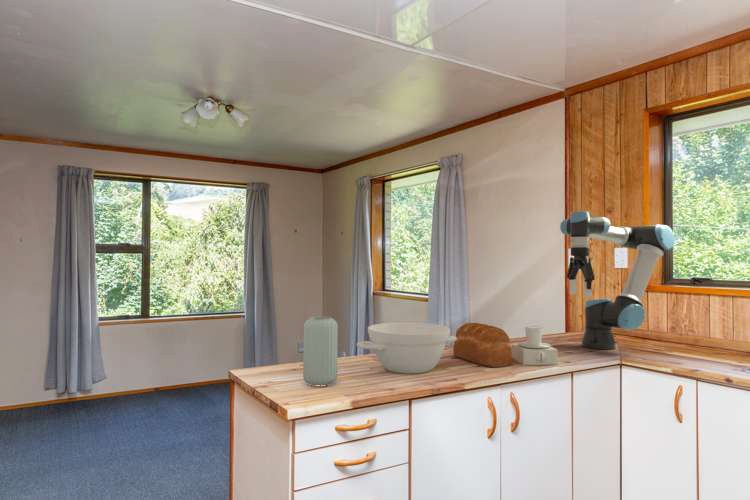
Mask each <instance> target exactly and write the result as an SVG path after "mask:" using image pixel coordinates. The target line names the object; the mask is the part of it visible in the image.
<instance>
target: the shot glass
mask: <svg viewBox="0 0 750 500" xmlns="http://www.w3.org/2000/svg"><path fill="white" fill-rule="evenodd" d="M524 331H525V337H526V338H525V339H526V340H525V341H527V344H528V345H541V342H542V338H543V327H542V326H541V327H540V326H529V325H528V326H525V330H524Z"/></svg>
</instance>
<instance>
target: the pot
mask: <svg viewBox="0 0 750 500" xmlns="http://www.w3.org/2000/svg"><path fill="white" fill-rule="evenodd" d="M367 334H368V336H369V339H370V340H371V341H369V340H367V341H365V340H364V341H359V342H358V341H357V343H356V347H357V348H359V349H365V350H374V354H375V355H376V358H377V359H378V362H379V363H380V364H381V366H383V368H384V369H386V370H387V371H389V372H390V373H394V372H395V373H396V374H401V373H402V374H401V375H403V374H405V375H417V374H419V373H420V374H425V373H429V372H431V370H433V369H434V368H435V367H436V366H437V365H438V363H439V361H440V359H441V358H442V355H443V353H444V351H445V347H446V344H451V343H452V342H454V341H456V340H457V337H456V335H455V336H454V335H451V328H450V327H449V326H446V325H442V324H437V323H428V322H427V323H426V322H413V321H412V322H411V321H410V322H383V323H376V324H371V325H368V326H367Z"/></svg>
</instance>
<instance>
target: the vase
mask: <svg viewBox="0 0 750 500" xmlns="http://www.w3.org/2000/svg"><path fill="white" fill-rule="evenodd" d="M338 327H339V326H338V322H337V321H336V320H335V319H333V318H332V317H330V316H312V317H309V318H308V319H307V320H306V321H304V324H303V341H302V343H303V347H302V348H303V350H302V351H303V353H302V354H303V356H302V357H303V359H302V360H303V365H302V366H303V368H302V369H303V370H302V375H303V376H302V377H303V380H304V381H305V382H306V383H307V385H309V384H311V385H320V386H321V385H329V384H331V385H332V384H334V382H336V380H337V378H338V354H339V353H338V348H339V347H338V345H339V343H338V342H339V341H338V339H339V338H338V336H339V334H338V333H339V331H338ZM311 385H310V386H311ZM329 386H330V385H329Z"/></svg>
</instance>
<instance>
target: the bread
mask: <svg viewBox="0 0 750 500" xmlns="http://www.w3.org/2000/svg"><path fill="white" fill-rule="evenodd" d="M455 337H457V340H456V341H453V356H454V357H456V358H460V359H462V360H464V361H465V360H466V361H469V362H471V363H475V364H477V365H481V366H485V367H489V368H501V367H502V368H503V367H509V366H510V365H512V363H513V358H512V345H510V337H509V335H508V334H507V332H506V331H505V330H503V329H502V328H501V327H498V326H497V327H496V326H493V325H489V324H486V323H479V322H466V323H463V325H461V326H459V328H457V329H456V331H455Z"/></svg>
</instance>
